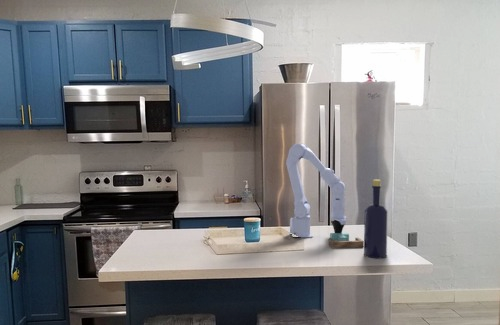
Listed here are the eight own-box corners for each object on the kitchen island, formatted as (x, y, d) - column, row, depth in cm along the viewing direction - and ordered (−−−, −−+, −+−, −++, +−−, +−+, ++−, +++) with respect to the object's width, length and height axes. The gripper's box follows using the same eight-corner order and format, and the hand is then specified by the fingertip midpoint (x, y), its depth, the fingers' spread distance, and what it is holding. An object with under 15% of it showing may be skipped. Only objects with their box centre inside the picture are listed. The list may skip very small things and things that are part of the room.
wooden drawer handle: (333, 247, 157) (333, 242, 156) (328, 243, 163) (328, 238, 163) (363, 247, 158) (363, 241, 158) (357, 243, 164) (358, 237, 164)
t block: (334, 244, 162) (334, 237, 162) (330, 239, 170) (330, 233, 170) (352, 243, 163) (352, 237, 162) (347, 239, 170) (347, 232, 170)
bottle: (384, 251, 151) (385, 178, 149) (390, 258, 142) (392, 181, 140) (361, 251, 152) (362, 178, 150) (365, 258, 143) (367, 181, 141)
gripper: (352, 210, 163) (352, 240, 164) (341, 204, 178) (341, 232, 179) (337, 210, 163) (336, 241, 164) (327, 204, 177) (326, 232, 178)
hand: (338, 236), depth 171 cm, fingers closed
